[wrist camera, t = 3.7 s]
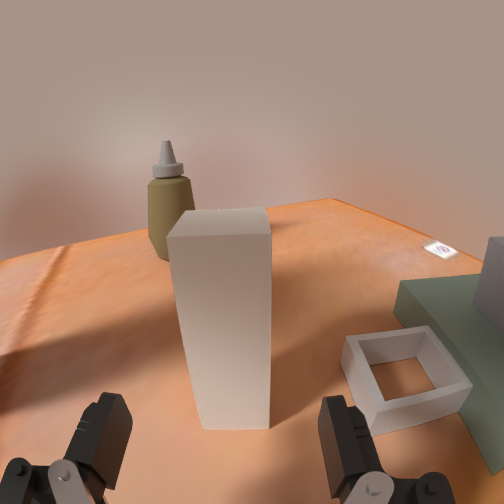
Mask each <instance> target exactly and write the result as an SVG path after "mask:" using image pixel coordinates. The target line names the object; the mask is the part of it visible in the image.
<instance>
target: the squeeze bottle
mask: <svg viewBox="0 0 504 504" xmlns="http://www.w3.org/2000/svg"><path fill="white" fill-rule="evenodd" d="M183 173H184V171H183V163H176V160H175V156H174V153H173V149H172V145H171V142H170V141H162V147H161V154H160V160H159V165H156V166H153V177H155V178H156V179H154V180H152V181H151V182H150V183H149V184H148V230H149V238H150V240H151V242H152V244H153V246H154V248H155V250H156V252H157V254H158V256H159V257H160V258H161V259H164V260H169V255H168V248H167V240H166V236H167V235H168V234H169V232H170V231H171V230H172V228H173V227H174V225H175V224H176V223H177V221H178V220H179V219H180V217H181V216H182V215H183V213H184V212H185V211H188V210H195V206H194V201H193V194H192V188H191V182H190V179H188V178H187V177H184V176H181V175H182V174H183Z"/></svg>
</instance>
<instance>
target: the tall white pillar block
mask: <svg viewBox="0 0 504 504" xmlns="http://www.w3.org/2000/svg"><path fill="white" fill-rule="evenodd" d="M166 240H167V248H168V255H169V263H170V270H171V276H172V283H173V290H174V296H175V302H176V308H177V314H178V319H179V325H180V330H181V336H182V341H183V346H184V351H185V356H186V361H187V365H188V370H189V375H190V379H191V384H192V388H193V392H194V397H195V401H196V405H197V409H198V413H199V417H200V421H201V425H202V429H206V430H259V429H269V414H270V374H271V308H272V232H271V228H270V224H269V220H268V216H267V212H266V208H237V209H211V210H188V211H185V212H184V213H183V215H182V216H181V217H180V219H179V220H178V221H177V223H176V224H175V225H174V227H173V228H172V230H171V231H170V232H169V234H168V235H167V236H166Z"/></svg>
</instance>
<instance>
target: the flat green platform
mask: <svg viewBox="0 0 504 504" xmlns="http://www.w3.org/2000/svg"><path fill="white" fill-rule="evenodd" d="M393 313H394V314H395V316H396V317H397V318H398V320H399V321H400V323H401V324H402V326H403V327H404V328H405V329H400V330H392V331H385V332H377V333H368V334H359V335H349V336H345V342H344V347H343V352H342V357H341V362H340V363H341V366H342V369H343V371H344V374H345V377H346V380H347V383H348V385H349V388H350V391H351V394H352V397H353V400H354V403H355V406H356V407H357V408H358V409H359V410H360V411H361V412H362V413H363V414H364V416H365V418H366V421H367V424H368V428H369V430H370V433H371V436H376V435H380V434H385V433H389V432H393V431H397V430H401V429H405V428H409V427H412V426H416V425H419V424H423V423H426V422H429V421H433V420H436V419H439V418H442V417H445V416H448V415H451V414H453V413H456V412H458V413H459V415H460V416H461V418H462V420H463V422H464V423H465V425H466V427H467V429H468V430H469V432H470V434H471V436H472V438H473V440H474V441H475V443H476V445H477V447H478V449H479V451H480V453H481V455H482V457H483V458H484V460H485V462H486V464H487V466H488V468H489V470H490V472H491V474H492V476H493V475H494V474H496V473H498V472H499V471H501V470H503V469H504V237H489V241H488V246H487V250H486V254H485V259H484V263H483V267H482V270H481V274H471V275H461V276H450V277H439V278H427V279H415V280H402V281H400V284H399V289H398V294H397V298H396V303H395V307H394V312H393ZM415 357H416V358H417V359H418V361H419V363H420V364H421V366H422V367H423V369H424V371H425V372H426V374H427V375H428V377H429V379H430V380H431V382H432V384H433V385H434V387H435V389H434V390H431V391H427V392H423V393H419V394H415V395H411V396H407V397H402V398H398V399H393V400H388V401H385V400H384V398H383V396H382V393H381V391H380V389H379V387H378V384H377V382H376V380H375V378H374V375H373V373H372V371H371V369H370V367H369V365H374V364H381V363H387V362H393V361H399V360H404V359H410V358H415Z"/></svg>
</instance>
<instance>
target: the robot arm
mask: <svg viewBox="0 0 504 504" xmlns="http://www.w3.org/2000/svg"><path fill="white" fill-rule="evenodd" d="M132 424H133V422H132V416H131V414H130V412H129V410H128V408H127V405H126V403H125V401H124V399H123V397H122V395H121V394H115V393H108V392H103V393H102V394H101V396H100V398H99V400H98V402H97V403H95V402H92V403H91V404H90V405H89V406H88V407H87V408H86V409H85V410H84V412H83V415H82V417H81V419H80V422H79V424H78V426H77V429H76V430H75V433H74V435H73V437H72V440H71V442H70V444H69V447H68V449H67V451H66V454H65V456H64V458H63V459H61V460H57V461H55V462H53V463H52V464H51V465H50V466H35V465H31V464H30V463H29V462H28V461H27V460H26V459H24V458H14V459H12V460H11V461H10V462H9V463H8V465H7V467H6V470H5V472H4V475H3V478H2V480H1V483H0V504H109V503H108V501H107V499H106V497H105V496H104V491H105V488H107V489H111V490H114V489H115V486H116V482H117V478H118V475H119V471H120V468H121V464H122V461H123V457H124V454H125V450H126V447H127V443H128V440H129V437H130V434H131V430H132ZM318 431H319V436H320V441H321V446H322V451H323V456H324V462H325V467H326V472H327V477H328V482H329V488H330V493H331V498H332V499H333V498H340V503H341V504H456V503H455V499H454V496H453V493H452V490H451V487H450V484H449V481H448V479H447V478H446V477H445V476H444V475H443V474H441V473H438V472H429V473H426V474H424V475H423V476H422V477H420V479H397V478H394V477H391V476H389V475H388V474H387V473H386V472H385V471H384V470H383V468H382V466H381V464H380V460H379V457H378V454H377V451H376V448H375V445H374V442H373V439H372V436H371V433H370V430H369V428H368V424H367V421H366V418H365V416H364V414H363V413H362V412H361V411H360V410H359V409H358V408H357V407H356V406H352V407H347V405H346V402H345V399H344V396H343V395H337V396H329V397H323V400H322V405H321V409H320V414H319V418H318Z"/></svg>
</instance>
